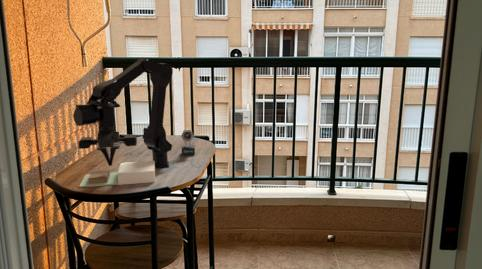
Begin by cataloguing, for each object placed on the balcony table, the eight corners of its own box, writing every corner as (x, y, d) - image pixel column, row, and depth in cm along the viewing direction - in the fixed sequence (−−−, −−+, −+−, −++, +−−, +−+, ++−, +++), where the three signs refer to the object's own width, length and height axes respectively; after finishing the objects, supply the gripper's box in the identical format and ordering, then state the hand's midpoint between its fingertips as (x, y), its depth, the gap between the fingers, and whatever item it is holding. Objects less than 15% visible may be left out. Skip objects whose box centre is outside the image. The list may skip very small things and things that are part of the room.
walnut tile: (109, 169, 144) (110, 174, 144) (92, 170, 143) (92, 175, 143) (107, 176, 135) (107, 182, 136) (88, 178, 134) (88, 183, 135)
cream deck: (121, 173, 147) (121, 162, 147) (155, 170, 150) (154, 160, 149) (118, 184, 135) (117, 173, 134) (154, 182, 137) (154, 170, 136)
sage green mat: (86, 175, 145) (85, 174, 145) (121, 173, 147) (121, 171, 147) (79, 187, 133) (79, 186, 132) (118, 184, 135) (118, 183, 135)
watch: (181, 156, 169) (180, 131, 167) (182, 151, 177) (181, 127, 175) (194, 156, 170) (194, 130, 168) (195, 151, 178) (194, 127, 175)
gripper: (72, 127, 127) (77, 174, 130) (133, 124, 130) (136, 170, 134) (79, 121, 137) (83, 164, 141) (135, 118, 141) (138, 161, 144)
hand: (110, 165), depth 140 cm, fingers closed
